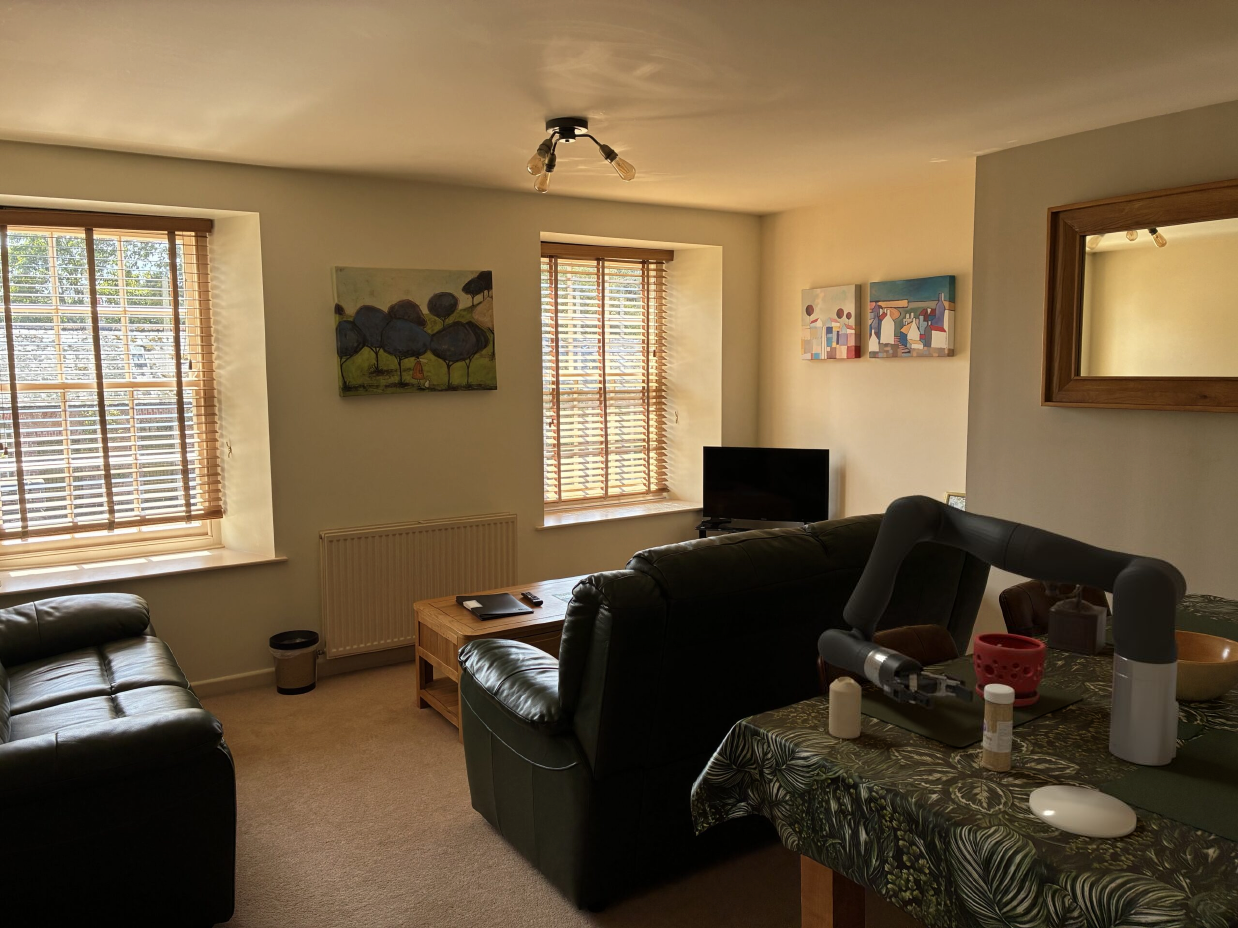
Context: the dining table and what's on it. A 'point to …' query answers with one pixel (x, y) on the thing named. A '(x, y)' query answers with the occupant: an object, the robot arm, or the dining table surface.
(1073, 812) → the cream plate
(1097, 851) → the dining table surface
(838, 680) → the candle
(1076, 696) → the dining table surface
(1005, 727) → the sprinkles bottle
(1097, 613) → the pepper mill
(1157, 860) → the dining table surface
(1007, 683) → the plant pot
